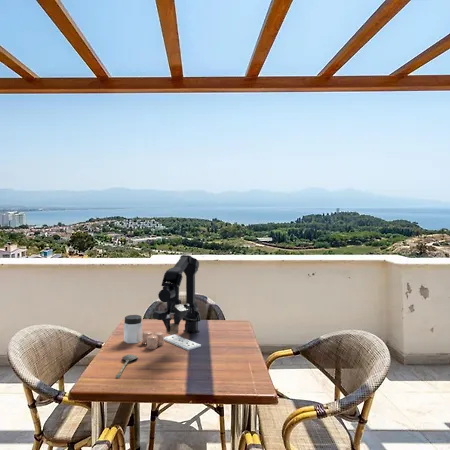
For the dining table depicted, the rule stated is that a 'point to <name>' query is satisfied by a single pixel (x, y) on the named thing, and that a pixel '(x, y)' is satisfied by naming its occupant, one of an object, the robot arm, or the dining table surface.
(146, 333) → the peach rounded piece
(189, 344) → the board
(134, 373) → the dining table surface
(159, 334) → the peach rounded capsule
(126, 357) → the soupspoon
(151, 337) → the peach rounded blob
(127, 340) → the jar
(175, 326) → the brown cube
